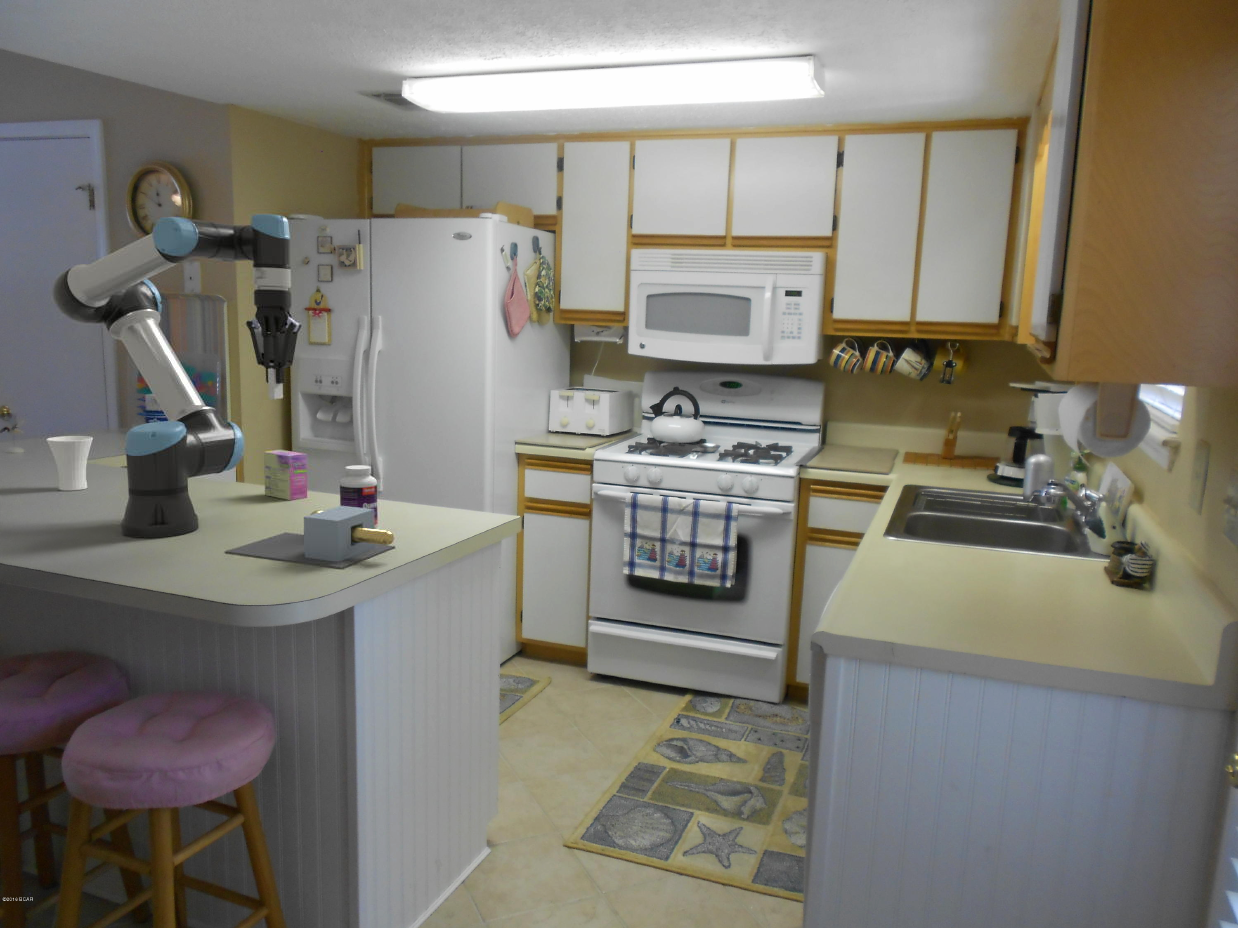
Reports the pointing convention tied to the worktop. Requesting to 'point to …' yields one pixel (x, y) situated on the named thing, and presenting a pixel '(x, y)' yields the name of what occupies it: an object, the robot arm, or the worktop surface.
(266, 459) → the box
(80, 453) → the cup
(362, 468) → the pill bottle
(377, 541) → the pin
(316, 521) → the block
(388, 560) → the worktop surface
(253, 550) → the mat
